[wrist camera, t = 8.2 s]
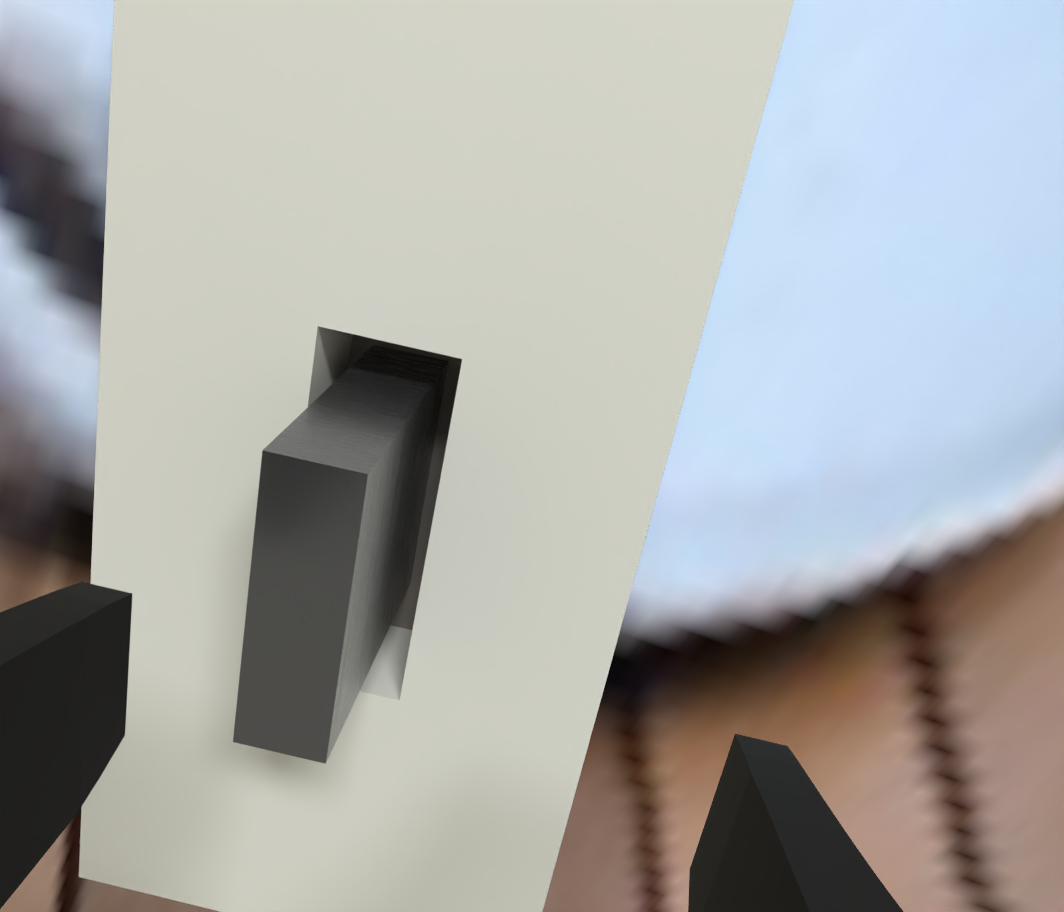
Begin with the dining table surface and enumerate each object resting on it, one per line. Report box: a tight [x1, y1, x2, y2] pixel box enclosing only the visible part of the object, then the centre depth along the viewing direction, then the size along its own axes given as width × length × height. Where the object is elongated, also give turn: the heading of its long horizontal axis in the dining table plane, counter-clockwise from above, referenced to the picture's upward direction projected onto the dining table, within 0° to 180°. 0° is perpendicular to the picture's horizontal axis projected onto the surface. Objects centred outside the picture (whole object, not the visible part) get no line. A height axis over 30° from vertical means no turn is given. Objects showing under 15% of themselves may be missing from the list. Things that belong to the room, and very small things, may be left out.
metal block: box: [233, 345, 448, 764], centre depth 17 cm, size 5×2×6 cm, turn 169°
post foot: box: [79, 0, 794, 912], centre depth 19 cm, size 20×10×3 cm, turn 168°
